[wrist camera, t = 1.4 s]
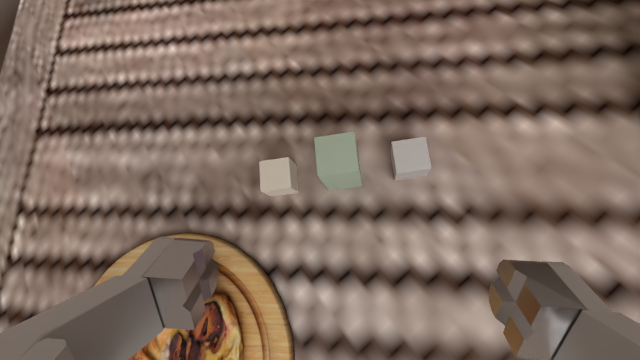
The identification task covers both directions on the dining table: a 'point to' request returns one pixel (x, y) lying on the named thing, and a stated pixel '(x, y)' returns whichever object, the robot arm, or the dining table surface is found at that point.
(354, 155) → the sage-green pillar
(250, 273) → the wooden plate with food
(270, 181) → the cream block
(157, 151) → the dining table surface
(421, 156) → the grey block
